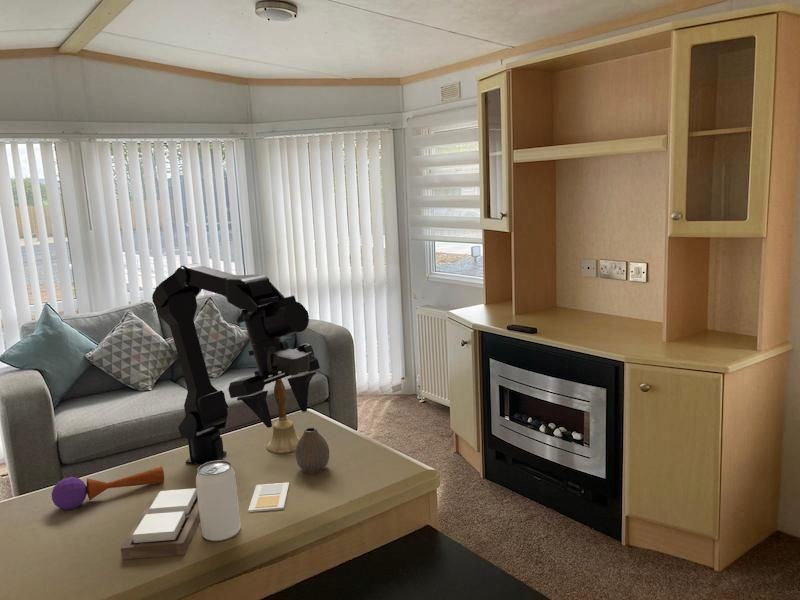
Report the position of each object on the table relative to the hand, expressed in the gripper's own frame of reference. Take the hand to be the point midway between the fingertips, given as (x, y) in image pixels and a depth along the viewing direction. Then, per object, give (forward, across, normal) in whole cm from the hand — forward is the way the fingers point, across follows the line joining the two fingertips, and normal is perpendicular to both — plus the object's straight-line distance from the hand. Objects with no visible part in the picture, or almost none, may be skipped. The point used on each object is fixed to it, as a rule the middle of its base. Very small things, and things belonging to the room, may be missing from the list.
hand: (287, 419), depth 125 cm
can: (+14, -18, +3) cm, 23 cm away
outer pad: (+10, -26, +8) cm, 29 cm away
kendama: (+6, -21, +32) cm, 39 cm away
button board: (+11, -22, +12) cm, 28 cm away
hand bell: (+10, +14, +20) cm, 26 cm away
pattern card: (+13, -5, +5) cm, 15 cm away
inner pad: (+9, -19, +14) cm, 25 cm away
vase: (+13, +8, +6) cm, 17 cm away
